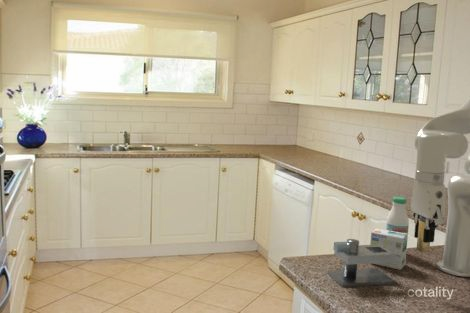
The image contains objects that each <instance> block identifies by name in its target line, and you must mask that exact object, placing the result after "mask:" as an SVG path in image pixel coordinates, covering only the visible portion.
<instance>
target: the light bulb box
mask: <svg viewBox="0 0 470 313" xmlns="http://www.w3.org/2000/svg"><path fill="white" fill-rule="evenodd" d="M408 237H409V233H408V234H406V233H400V232H394V231H389V230H385V229H384V228H383V229H382V228H378V227H377V228H376V227H375V229H374V230H373V231H371V235H370V244H369V245H382V246H384V247H385V248H387V249H389V250H390V251H392V252H394V253H395V254H396V262H395V263H371V264H373V265H377V266H381V267H385V266H386V268H390V269H395V270H399V271H402V269H403V268H404V267H405V265H406V257H407V250H408V249H407V248H408V247H407V246H408V239H407V238H408Z"/></svg>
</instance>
